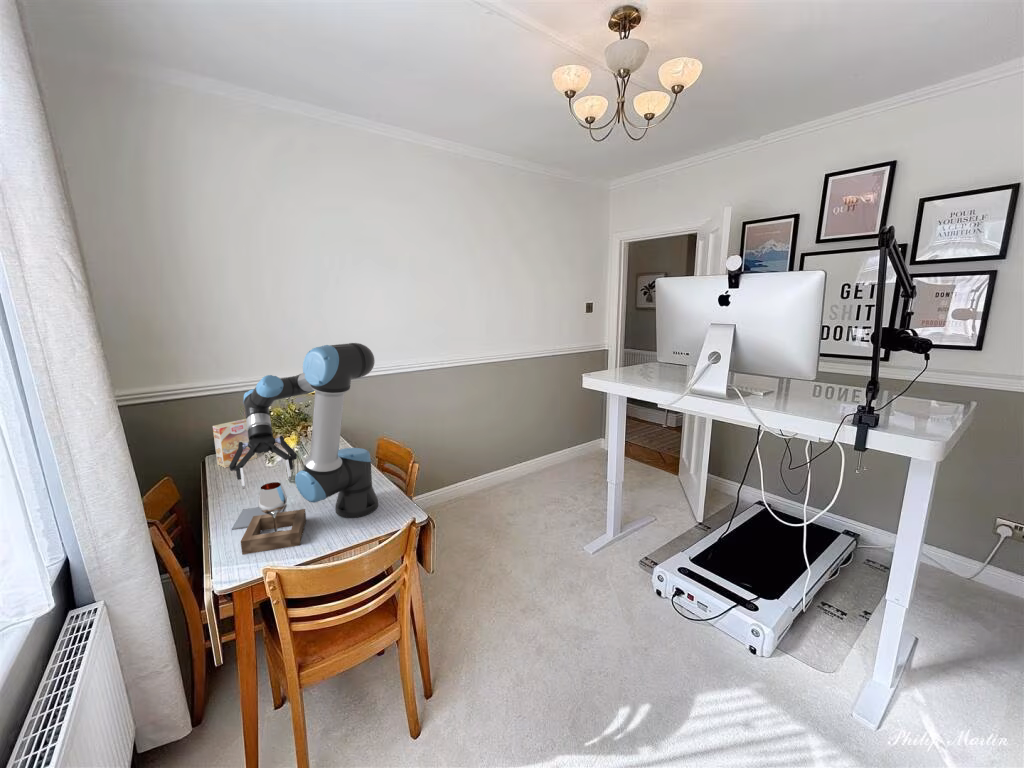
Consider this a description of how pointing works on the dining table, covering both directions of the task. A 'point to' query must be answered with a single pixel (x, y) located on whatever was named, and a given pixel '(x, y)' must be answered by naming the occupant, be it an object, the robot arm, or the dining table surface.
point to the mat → (247, 517)
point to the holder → (274, 540)
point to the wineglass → (272, 500)
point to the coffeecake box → (230, 441)
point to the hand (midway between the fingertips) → (267, 482)
